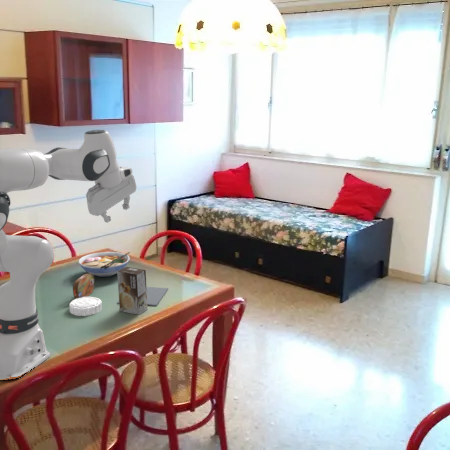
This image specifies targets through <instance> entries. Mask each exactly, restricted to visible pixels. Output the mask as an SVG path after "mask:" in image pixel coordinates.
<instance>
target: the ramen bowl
mask: <svg viewBox="0 0 450 450" xmlns="http://www.w3.org/2000/svg"><path fill="white" fill-rule="evenodd" d="M129 254H130V251H128V252H127V253H122V252H117V251H103V252H93V253H90V254H86V255H84V256H81V258H79V259H78V265H80V267H81V268H82V269H83V270H84V271H85V272H86V273H87V274H90V273H91V274H93V276H97V277H100V278H107V277H112V276H114V275H116V274H118V273H117V272H118V271H120V270H121V269H123V268H125V267H127V265H128V264H129V261H130V260H131V259H130V256H129Z"/></svg>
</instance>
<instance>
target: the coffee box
mask: <svg viewBox="0 0 450 450" xmlns="http://www.w3.org/2000/svg"><path fill="white" fill-rule="evenodd" d="M116 274H117V287H118V289H117V291H118V301H119V304H118V306H119V312H121V313H122V312H124V313H129V314H133V315H138V316H139V315H141V314H143V313H144V312H146V311H147V310H148V306H147V290H146V287H147V271H146V269H143V268H137V267H130V266H125V267H124V268H123V269H121V270H120V271H118V272H117V273H116Z"/></svg>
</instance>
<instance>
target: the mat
mask: <svg viewBox="0 0 450 450" xmlns="http://www.w3.org/2000/svg"><path fill="white" fill-rule="evenodd" d="M146 290H147V307H148V306H149V307H158V305H160V303H161V301H162V299H163V298H164V297H165V295H166V293H167V292H168V290H169V288H168V287H157V286H156V287H152V286H146ZM116 304H117V305H119V300H118V301H117V303H116Z"/></svg>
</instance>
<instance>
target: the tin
mask: <svg viewBox="0 0 450 450" xmlns="http://www.w3.org/2000/svg"><path fill="white" fill-rule="evenodd" d="M95 286H96V279H95V275H93V274H91V273H90V274H89V273H84V274H82V275H81V276H79V278H77V279H76V280H75V281H74V283H73V284H72V293H73V298H74V300H75V299H77V298H82V297H90V295H91V294H92V293H93V292H94V290H95Z"/></svg>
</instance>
